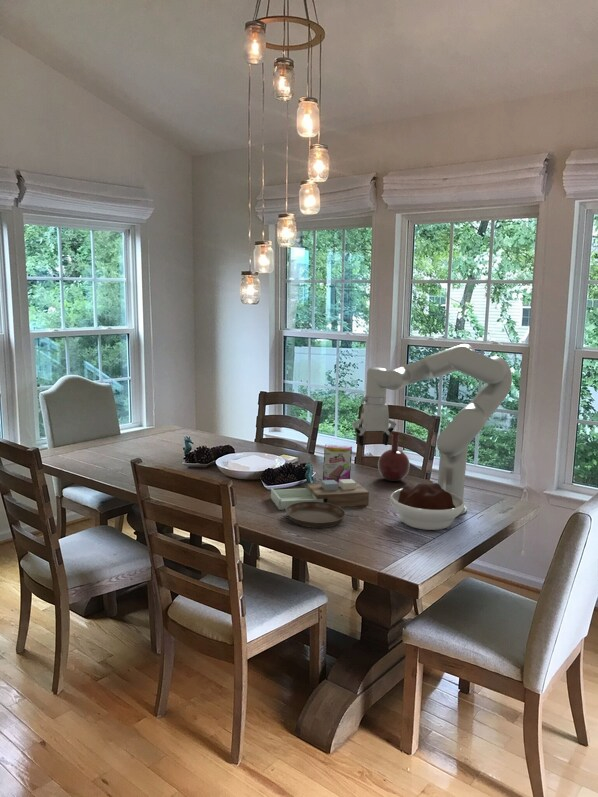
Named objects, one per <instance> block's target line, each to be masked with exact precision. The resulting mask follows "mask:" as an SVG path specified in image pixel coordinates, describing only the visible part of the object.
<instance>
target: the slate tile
mask: <svg viewBox="0 0 598 797" xmlns="http://www.w3.org/2000/svg"><path fill="white" fill-rule="evenodd" d="M321 483H322V484H321V487H322V488H323V489H324V490H325V491H327V490H338V483H337V482H336V481H335V480H323V479H322V480H321Z"/></svg>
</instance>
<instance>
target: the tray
mask: <svg viewBox="0 0 598 797" xmlns="http://www.w3.org/2000/svg"><path fill="white" fill-rule="evenodd" d="M270 500H271V501H272V502H273V503H275V504H274V505H275V506H276V508H277V507H278V508H277V509H278V510H279V511H283V510H284V509H285V510H284V511H286V508H287V507H288V506H290V505H292V504H295V503H299V502H323V501H324V499H317V498H316V497H315V496H314V495H313V494H312V493H311V492H310V491H309V490H308V489H307V487H304V488H303V487H302V488H287V489H286V488H285V489H284V488H283V489H274V488H273V487H271V488H270Z"/></svg>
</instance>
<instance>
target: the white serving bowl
mask: <svg viewBox="0 0 598 797" xmlns="http://www.w3.org/2000/svg"><path fill="white" fill-rule="evenodd" d="M389 501H390V503H391V505H392V508H393V509H394V510H395V511H396V513H397V514H398V517H399V520H400V522H402V523H404V524H405V525H407V526H409V527H412V528H414V529H418V530H419V529H420V530H426V531H437V530H443V529H446V528H449V527H451V525H452V524H453V523H454V521H455V519H456V518H457V517H458V516H460V515H461V514H460V513H461V512H462V510H463V509H464V505H465V501H464V498H463V499H462V498H461V497H459V496H458V495H456V494H453V493H451V492H447V491H445V490H443V489H442V488H441V486H440V485H439V484H438V482H435V483H434V482H432V483H426V482H420V483H418V484H417V485H414V484H410V483H409V484H406V485H403V487H402V488H400V489H397V490H395V491H393V492H392V493H391V495H390V498H389Z"/></svg>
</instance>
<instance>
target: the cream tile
mask: <svg viewBox="0 0 598 797" xmlns="http://www.w3.org/2000/svg"><path fill="white" fill-rule="evenodd" d="M356 482H357V481H356ZM356 482H355V480H354V479H352V478H350V479H341V480H339V486H340V487H341V488H342V489H343V490H346V489H356Z"/></svg>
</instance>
